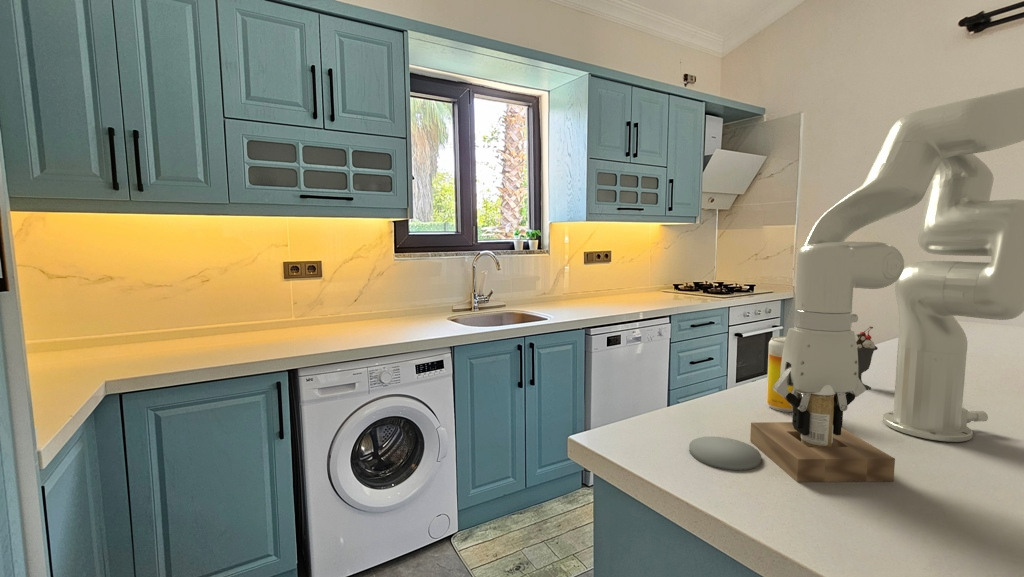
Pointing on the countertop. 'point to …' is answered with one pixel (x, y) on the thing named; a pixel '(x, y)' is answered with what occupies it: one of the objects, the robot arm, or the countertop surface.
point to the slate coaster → (725, 453)
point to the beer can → (776, 375)
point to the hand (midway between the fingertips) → (816, 430)
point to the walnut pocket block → (822, 455)
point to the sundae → (864, 353)
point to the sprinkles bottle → (820, 418)
